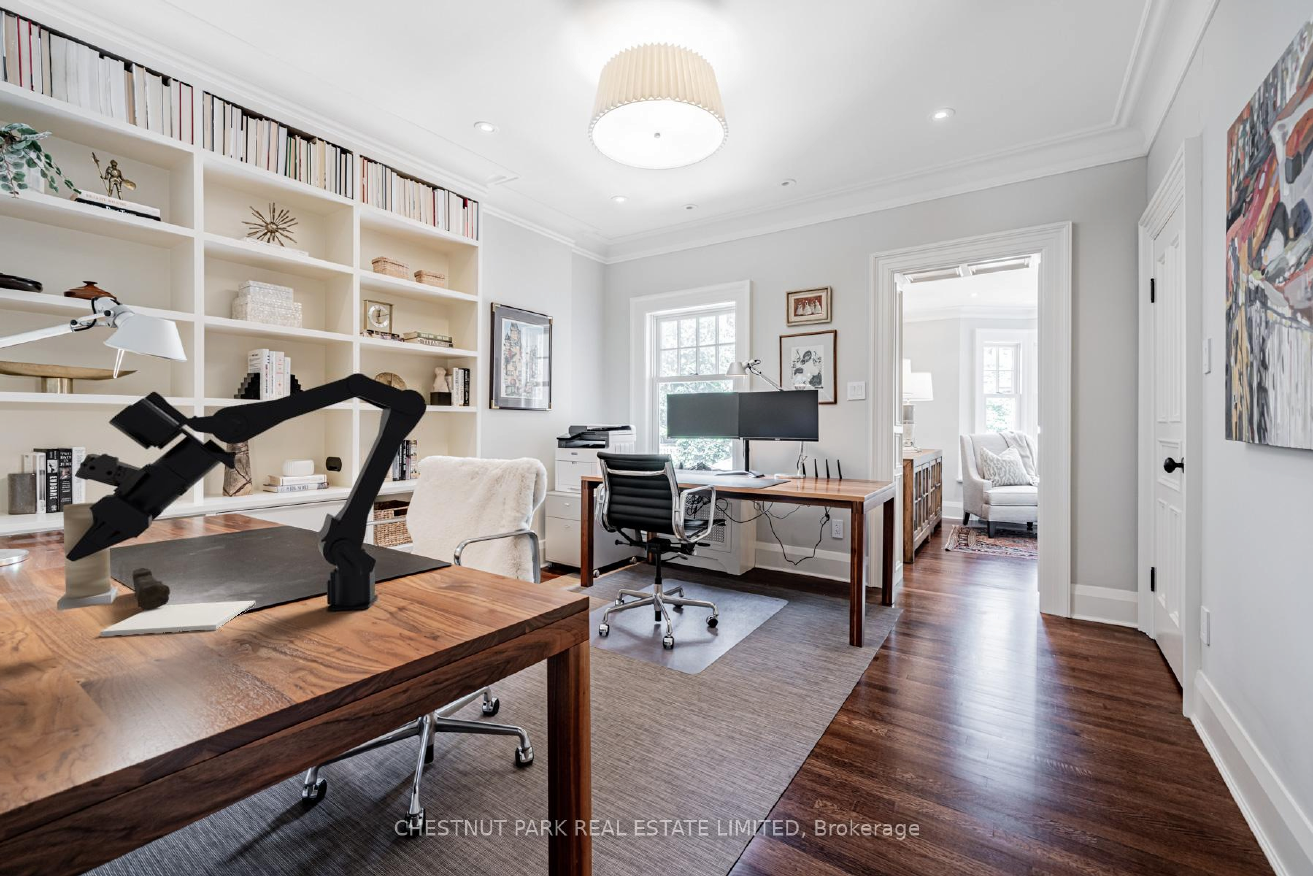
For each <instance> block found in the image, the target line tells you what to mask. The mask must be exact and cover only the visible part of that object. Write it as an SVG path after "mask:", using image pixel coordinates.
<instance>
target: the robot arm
mask: <svg viewBox="0 0 1313 876" xmlns="http://www.w3.org/2000/svg"><path fill="white" fill-rule="evenodd" d="M354 398H356V399H359V400H361V401H363V402H364V403H367V404H369V405H372V406H373V407H375V408H379V409H381V410H382V411H381V416H380V422H379V428H378V433H377V434H378V435H377V436H376V438H375V440H374V443H373V444H372V447H371V448H370V451H369V452H368V455H367V457H366V458H365V461H364V463H363V465H362V468H361V470H360V472H359V474H358V476H357V478H356V480H355V482H354V484H353V486H352V488H351V491H350V492H349V495H348V497H347V499H346V501H345V503H344V505H343V507H342V508H341V509H340V511H338V513H336V515H333V514H330V513H326V515H325V519H324V521H323V525H322V527H321V529H320V530H319V531H318V532H317V533H316V537H317V538H318V542H317V546H318V547H317V548H318V550H319V552H320V554H321V556H322V557H323V558H324V559H325V561H327V562H328V563H329V564H330V565H332V566H334V567H335V568H334V569H333V570H331V571H330V572H329V579H328V580H326V604H327V605H328V606H327V607H326V611H328V612H332V611H333V612H334V611H350V610H351V611H352V610H367V609H369V608H370V607H371V606H372V605H373V604H374V603H375V602H376V601H377V600H378V599H379V595H378V594H376V574H375V573H376V568H375V565H376V563H377V560H376V559H375V557H373V555H371V554H370V553H369V552H368V551H367V550H366V549H365V548H363V545H364V541H365V537H366V532H367V525H368V517H369V514H370V512H371V510H372V508H373V506H374V503H375V501H376V499H377V497H378V495H379V493H380V490H381V488H382V486H383V485H384V482H385V480H386V478H387V476H388V473H389V472H390V469H391V467H392V465H393V463H394V460H395V458H396V457H397V454H398V452H399V450H400V448H401V445H402V443H403V442H404V441H405V439H406V438H407V437H408V436H409V435H410V434H411V432H412V431H413V430H414V429H415V428H416V427H417V425H418V423H420V421H421V419H422V418H423V417H424V415H425V414H426V412H427V405H428V403H427V401H426V400H425V397H424V395H422V393H421V392H420V391H417V390H415V389H412V388H411V389H401V388H398V387H396V386H393V385H390V384H387V383H384V382H381V381H380V380H379V381H378V380H376V379H374V378H371V377H369V376H367V375H366V374H364V373H360V372H358V373H352V374H350V375H348V376H346V377H344V378H342V379H341V378H340V379H338V380H337V379H336V380H334V381H331V382H328V383H325V384H322V385H318V386H316V387H315V386H314V387H312V388H309V389H305V390H303V391H299V392H297V393H293V394H290V395H289V394H288V395H286V396H283V397H280V398H277V399H276V398H275V399H271V400H266V401H265V400H264V401H259V402H258V401H257V402H251V403H250V402H249V403H244V404H238V405H230V406H225V407H223V408H222V407H221V408H220V409H218V410H216V411H215V412H214V413H213V415H207V416H206V415H204V416H198V415H193V416H192V417H188V416H186V415H185V414H184V413H182V412H181V411H180V410H178V409H177V408H175V406H173V405H172V404H170V403H169V402H168V401H167V400H166V398H165V397H164V396H162V395H161V394H160V393H158V392H157V391H151V392H150V393H149V394H147V395H146V396H145V397H143V398H140V399H139V400H138V401H136V402H135V403H133V404H129V405H127V406H126V407H125V408H124V409H122V410H121V411H120V412H118V413H117V414H116V415H114V417H112V418H110V420H109V421H108V424H109V425H111V426H112V427H114V428H115V429H116V430H118V431H120V432H121V433H122V434H123V435H125V436H126V437H128V438H129V439H131V440H132V441H133V442H135V443H137V445H139V446H141V447H142V448H144V449H145V450H146V451H148V450H149V449H150V448H152V447H153V448H157V449H158V450H160V451H162V450H163V449H164V448H165V447H167V446H168V445H169V444H170V443H172V442H174V440H175V439H177V438H178V437H180V436H181V435H182V434H183V435H184V436H185V437H183V438H182V439H181V440H179V442H177V443H175V445H174V446H172V447H171V448H170V449H169V450H167V451H166V452H165V453H163V455H161V456H159V457H158V458H157V459H156V460H155V461H154V462H152V463H151V462H150V463H148V464H145V465H144V466H142V467H138V466H135V465H132V464H129V463H126V462H123V461H120V459H119V457H118V456H113V455H108V453H102V454H101V455H100V454H97V453H88V454H87V455H86V456H85V458H84V460H83V461H81V462H80V465H79V468H78V469H77V471H76V473H75V474H74V477H76V478H79V479H81V480H85V481H87V480H91V481H94V482H98V483H101V484H105V485H109V486H113V487H116V488H115V489H113V492H114V493H113V494H106V495H105V496H103V497H101V498H100V499H99V500H98V501H96V503H95V504H94V505H92V506H91V507H90V508H89V509H90V510H91V513H92V515H93V524H92V526H91V527H90V528H89V529H88V531H87V532H86V533H85V534H84V535H83V537H82V538H81V539H80V540H79V541H78V542H77V544H76V545H75V546H74V547H73V548H72V550H71V551H70V552H69V553H68V554H67V556H66V558H67V559H69V560H70V561H72V562H74V561H77V560H79V559H82V558H84V557H87V556H89V555H91V554H94V553H96V552H99V551H101V550H103V549H106V548H108V547H110V548H111V547H113V546H116V545H118V544H121V543H124V542H126V541H127V540H131V539H134V538H135V539H138V537H139V536H140V535H142V534H143V533H144V532H145V531H146V530H147V529H149V528H150V527H151V526H152V524H153V521H154V520H155V519H157V518H158V517H159V516H160V515H161V514H162V513H164V511H165V510H167V508H169V507H170V506H171V505H172V504H173V503H174V502H175V501H177V500H178V499H179V498H180V497H182V496H183V495H185V493H187V492H188V491H189V490H190V489H191V488H193V486H195V485H196V484H197V483H198V482H199V481H201V480H202V479H203V478H204V477H205V476H207V475H208V474H209V473H211V471H212V470H214V469H215V468H216V467H217V466H218V465H220V464H221V463H222V464H223V465H224V466H226V467H227V468H228V469H230V470H234V469H235V468H236V461H235V460H236V456H237V453H238V452H237V451H236V450H232V451H231V450H229V451H227V450H226V449H225V448H224V447H222V446H221V445H219V444H218V443H216V442H215V441H214V440H213V439H211V438H210V439H208V440H207V441H206V442H205V443H204V442H203V441H202V440H200V439H199V438H197V437H196V436H195V435H194V434H192V433H191V432H190V431H188V430H187V429H186V428H184V427H185V426H187V427H188V428H190V429H191V430H192V431H194V432H196V433H202V434H209V435H213V436H214V438H215V439H217V440H218V441H220V442H221V443H225V444H228V445H237V444H243V443H245V442H247V441H249V440H251V439H253V438H255V437H258V436H259V435H260V434H263V433H265V432H267V431H268V430H270V429H272V428H274V427H276V426H278V425H280V424H281V423H283V422H286V421H288V420H290V419H291V420H292V419H294V418H297V417H301V416H304V415H306V414H308V413H309V414H310V413H312V412H315V411H318V410H321V409H325V408H327V407H330V406H334V405H336V404H339V403H342V402H345V401H348V400H352V399H354Z"/></svg>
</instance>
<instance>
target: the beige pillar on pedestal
mask: <svg viewBox="0 0 1313 876" xmlns="http://www.w3.org/2000/svg"><path fill="white" fill-rule="evenodd" d="M96 502H97V501H96ZM96 502H92V501H91V502H83V503H82V502H79V503H72V504H71V503H70V504H65V505H62V508H63V509H62V510H63V511H62V513H63V541H64V543H63V544H64V547H63V548H64V575H65V576H64V577H65V579H64V580H65V593H64V594H63V595H62V596H61V597H60V598H59V599H58V601H56V607H57V608H56V610H57V612H58V611H66V610H73V609H80V608H87V607H88V608H89V607H93V606H94V607H95V606H102V605H111V604H112V603H113V602H114V601H115V599H116V598H117V596H118V595H119V589H118V588H119V586H118V585H115V586H111V583H112V582H111V581H112V580H111V551H110V549H111V547H108V548H106V549H103V550H101V551H99V552H96V553H94V554H91V555H89V556H87V557H84V558H82V559H79V560H77V561H74V562H72V561H70V560H69V559H67V558H66V556H67V554H68V553H69V552H70V551H71V550H72V548H73V547H74V546H75V545H76V544H77V542H78V541H79V540H80V539H81V538H82V537H83V535H84V534H85V533H86V532H87V531H88V529H89V528H90V527H91V526H92V524H93V515H92V513H91V510H90V509H89V508H90V507H91V506H92V505H94V504H95V503H96Z"/></svg>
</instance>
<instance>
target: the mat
mask: <svg viewBox="0 0 1313 876" xmlns="http://www.w3.org/2000/svg"><path fill="white" fill-rule="evenodd" d="M254 603H255V604H256V600H242V601H241V600H239V601H218V602H203V603H201V602H200V603H182V604H165V605H162V606H160V607H158V608H155V609H150V610H143V611H141V612H139V613H137V614H134V615H132V616H130V617H128V618H126V619H123V620H121V621H120V622H118V623H115V624H113V625H111V626H109V627H107V628H104V629H102V630H101V631H99V633H100V634H99V635H100V637H101V638H102V637H103V638H104V637H105V638H106V637H115V636H114V635H122V636H134V635H133V634H139V635H145V634H144V633H155V634H166V633H165V632H172V633H183V632H182V631H189V632H191V631H190V630H205V631H216V630H218V629H220V628H221V627H223V626H224V624H225V623H226V622H228V621H229V622H231V621H232V620H231V619H233V618H234V617H235V616H237V615H238V614H240V613H241V612H242V611H244V610H245V609H246V608H248V607H249V606H252V605H253V604H254ZM240 615H241V614H240ZM237 617H238V616H237ZM234 619H235V618H234ZM234 619H233V620H234ZM230 620H231V621H230ZM229 622H228V623H229ZM226 624H227V623H226ZM226 624H225V625H226ZM222 625H223V626H222ZM219 627H220V628H219ZM179 631H180V632H179ZM163 632H164V633H163Z"/></svg>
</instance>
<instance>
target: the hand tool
mask: <svg viewBox="0 0 1313 876" xmlns="http://www.w3.org/2000/svg"><path fill="white" fill-rule="evenodd" d="M132 582H133V583H132V584H133V587H134V594H135V597H136V598H137V604H138V605H137V607H139V608H140V609H141V610H143V611H145V610H150V609H155V608H158V607H160V606H162V605H167V603H168V602H169V601H170V594H171V589H170V586H168V585H166V584H163V581H162V580H157V579H155V578H154V576H153V572H152V570H151V569H149V568H146V567H145V568H144V567H140V568H136V569H134V571H133V573H132Z"/></svg>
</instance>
